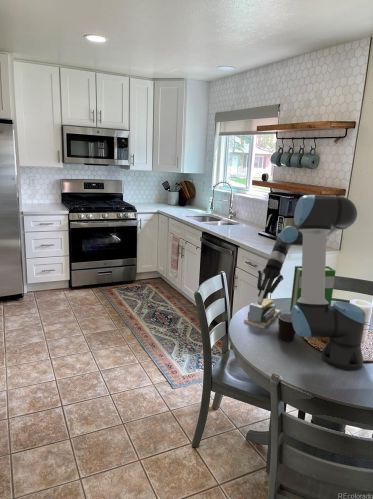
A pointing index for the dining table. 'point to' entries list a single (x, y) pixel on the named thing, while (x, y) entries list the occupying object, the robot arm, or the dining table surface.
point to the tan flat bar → (266, 303)
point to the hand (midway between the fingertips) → (259, 303)
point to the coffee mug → (286, 328)
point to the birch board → (262, 322)
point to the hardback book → (298, 278)
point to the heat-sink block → (260, 313)
